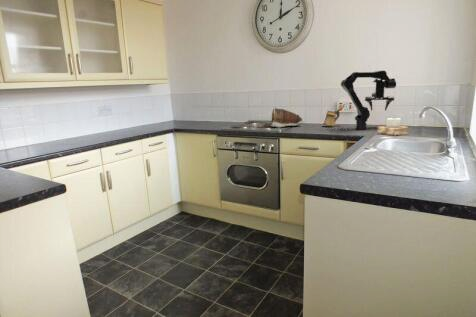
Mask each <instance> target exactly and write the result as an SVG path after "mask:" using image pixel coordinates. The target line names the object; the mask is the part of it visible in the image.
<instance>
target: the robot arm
mask: <svg viewBox="0 0 476 317" xmlns="http://www.w3.org/2000/svg"><path fill="white" fill-rule="evenodd" d="M358 78H361V79H362V78H363V79H364V78H371V79H374V80H373V81H372V83H375V92H374V91H373V92H371V96H365V98H364V101H366V102H367V103H368V105H369V107H370V110H371V111H369V108H368V107H366V106H363V103H362V102H361V100H360V98H359V96H358V95H357V93H356V92H355V88H354V83H355V81H357V79H358ZM340 86H341V88H342V89H343V90H344V91H345V92H347V94H348V97H349V98H350V99H351V101H352V103H353V105H354V107H355V108H356V113H357V115H356V116H355V117H354V120H355V121H356V122H355V130H356V131H366V129H367V121H368V120H369V118H370V116H371V114H370V113H371V112H372V111H373V101H384V100H385V107H384V111H385V112H386V111H387V109H388V107H389V105H390V104H391V103H392V102H393V101H395V96H394V95H393V96H392V95H391V96H390V95H387V96H386V97H385V89H395V88H396V86H397V81H396V78H394V77H393V78H390V77H389V76H388V73H387V71H386V70H376V71H375V70H374V71H371V72H370V71H369V72H368V71H363V72H362V71H361V72H358V71H354V72H352V73H351V74H350V75H348V76H347V77H346V78H344V79H342V80H341V83H340Z"/></svg>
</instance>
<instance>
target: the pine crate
mask: <svg viewBox="0 0 476 317" xmlns="http://www.w3.org/2000/svg"><path fill="white" fill-rule="evenodd" d="M377 134H378V135H386V136H391V135H394V136H393V137H397V136H396V135H399V136H404V135H408V134H409V126H402V125H400V128H397V129H393V128H386V125H384V126H383V125H382V126H377Z"/></svg>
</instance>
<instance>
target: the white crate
mask: <svg viewBox="0 0 476 317" xmlns="http://www.w3.org/2000/svg"><path fill="white" fill-rule="evenodd" d="M401 123H402V118H400V117H399V118H397V117H390V118H386V125H385V126H386V128H393V129H397V128H400V126H402V125H401Z"/></svg>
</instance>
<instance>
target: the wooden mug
mask: <svg viewBox="0 0 476 317" xmlns="http://www.w3.org/2000/svg"><path fill="white" fill-rule="evenodd" d="M344 107H345V104H341V105H340V106H339V107H338V108H337V110H335V111H332V110H327V112H326V115H325V119H324V122H323V123H322V125H323V126H327V127H335V126H336V121H337V120H338V119H339V118H340V111H341V110H342V109H344Z"/></svg>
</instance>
